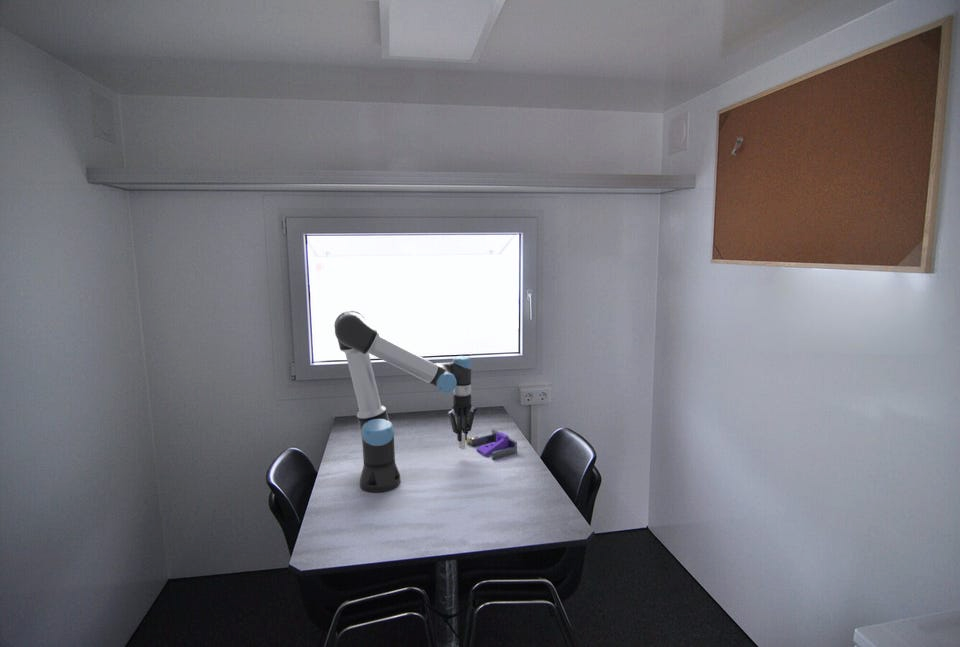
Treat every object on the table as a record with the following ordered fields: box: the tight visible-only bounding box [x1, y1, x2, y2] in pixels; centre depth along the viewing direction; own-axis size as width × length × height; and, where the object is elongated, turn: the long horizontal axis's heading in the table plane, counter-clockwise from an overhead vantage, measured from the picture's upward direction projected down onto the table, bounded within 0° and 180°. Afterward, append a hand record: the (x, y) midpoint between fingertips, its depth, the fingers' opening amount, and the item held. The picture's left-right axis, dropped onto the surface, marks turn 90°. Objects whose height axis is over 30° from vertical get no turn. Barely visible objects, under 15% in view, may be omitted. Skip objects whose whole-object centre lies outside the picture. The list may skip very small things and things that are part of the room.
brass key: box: [465, 435, 479, 445], centre depth 232 cm, size 6×3×3 cm, turn 142°
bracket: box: [476, 431, 510, 457], centre depth 222 cm, size 12×7×7 cm, turn 121°
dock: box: [470, 429, 518, 461], centre depth 223 cm, size 12×18×5 cm
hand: (462, 448), depth 215 cm, fingers closed
